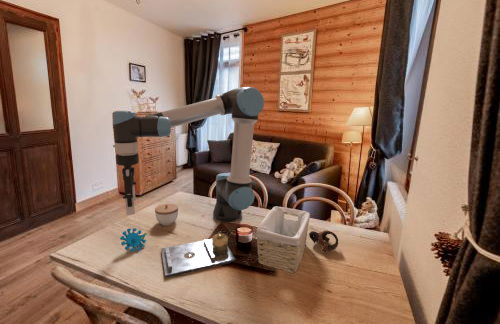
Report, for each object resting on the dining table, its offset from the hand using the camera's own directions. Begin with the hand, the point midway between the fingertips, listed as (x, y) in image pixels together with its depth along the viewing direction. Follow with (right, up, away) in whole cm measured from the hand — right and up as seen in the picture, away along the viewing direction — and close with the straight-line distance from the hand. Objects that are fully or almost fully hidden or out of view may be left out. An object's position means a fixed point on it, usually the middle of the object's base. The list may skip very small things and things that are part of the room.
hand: (131, 207), depth 96 cm
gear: (0, -17, +4) cm, 18 cm away
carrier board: (+26, -19, -1) cm, 32 cm away
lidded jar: (+5, -12, +26) cm, 29 cm away
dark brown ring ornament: (+77, -18, +8) cm, 79 cm away
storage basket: (+59, -19, +3) cm, 62 cm away
